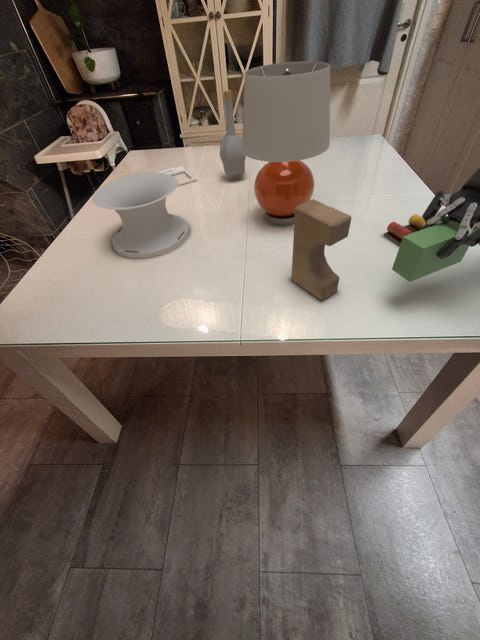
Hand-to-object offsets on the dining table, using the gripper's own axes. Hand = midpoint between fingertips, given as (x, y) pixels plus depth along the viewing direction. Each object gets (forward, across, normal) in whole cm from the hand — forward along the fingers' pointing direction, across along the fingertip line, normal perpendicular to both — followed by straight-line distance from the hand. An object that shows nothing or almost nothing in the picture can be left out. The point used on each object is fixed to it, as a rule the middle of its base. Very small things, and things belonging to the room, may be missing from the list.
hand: (427, 249), depth 60 cm
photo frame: (+30, -105, -12) cm, 110 cm away
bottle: (+14, -88, +4) cm, 89 cm away
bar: (+2, 0, +5) cm, 5 cm away
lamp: (+13, -49, +5) cm, 51 cm away
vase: (+43, -61, -25) cm, 79 cm away
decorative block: (+21, -14, -2) cm, 25 cm away
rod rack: (-5, -17, +23) cm, 29 cm away
